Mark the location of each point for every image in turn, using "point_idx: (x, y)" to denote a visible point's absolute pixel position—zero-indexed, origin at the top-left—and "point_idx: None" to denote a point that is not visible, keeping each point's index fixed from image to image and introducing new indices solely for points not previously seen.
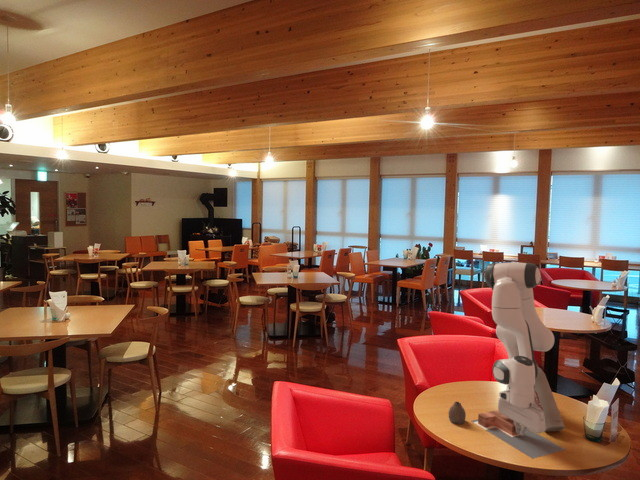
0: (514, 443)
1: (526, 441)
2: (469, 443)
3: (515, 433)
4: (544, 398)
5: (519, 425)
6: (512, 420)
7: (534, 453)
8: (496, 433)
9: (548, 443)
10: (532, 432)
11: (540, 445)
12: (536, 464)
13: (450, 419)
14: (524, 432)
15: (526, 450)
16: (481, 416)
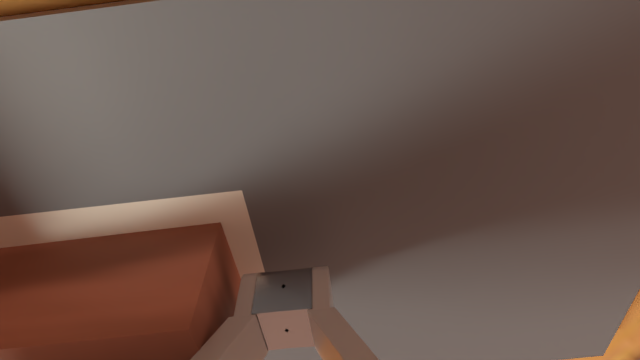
0: (380, 346)
1: (392, 256)
2: None
3: (235, 277)
4: None
5: (234, 348)
6: (62, 351)
7: (574, 312)
8: None
9: (553, 50)
10: (204, 34)
11: (523, 185)
12: (630, 334)
13: None
14: (330, 290)
15: (506, 333)
16: None
